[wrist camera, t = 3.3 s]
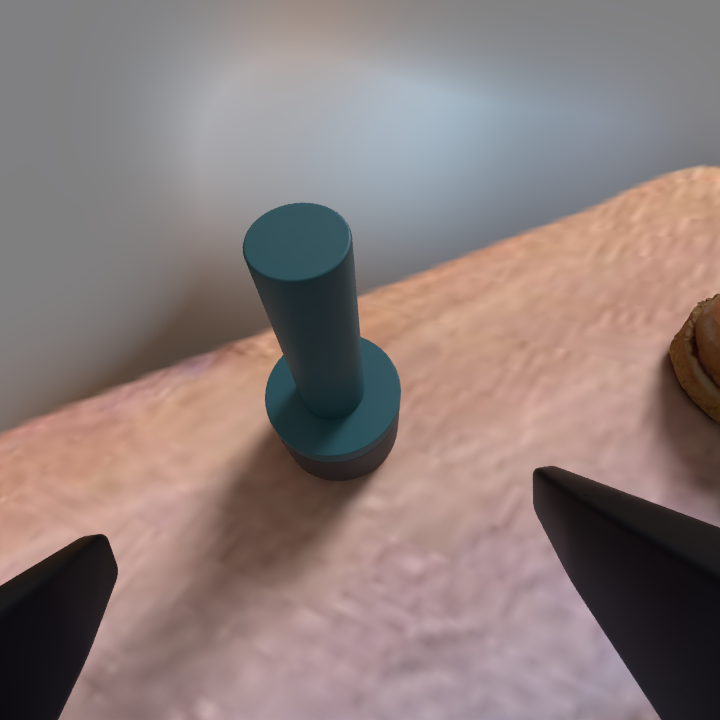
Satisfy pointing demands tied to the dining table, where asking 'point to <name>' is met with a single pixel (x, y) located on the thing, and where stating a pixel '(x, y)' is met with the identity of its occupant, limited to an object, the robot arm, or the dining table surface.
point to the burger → (700, 356)
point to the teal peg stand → (321, 345)
